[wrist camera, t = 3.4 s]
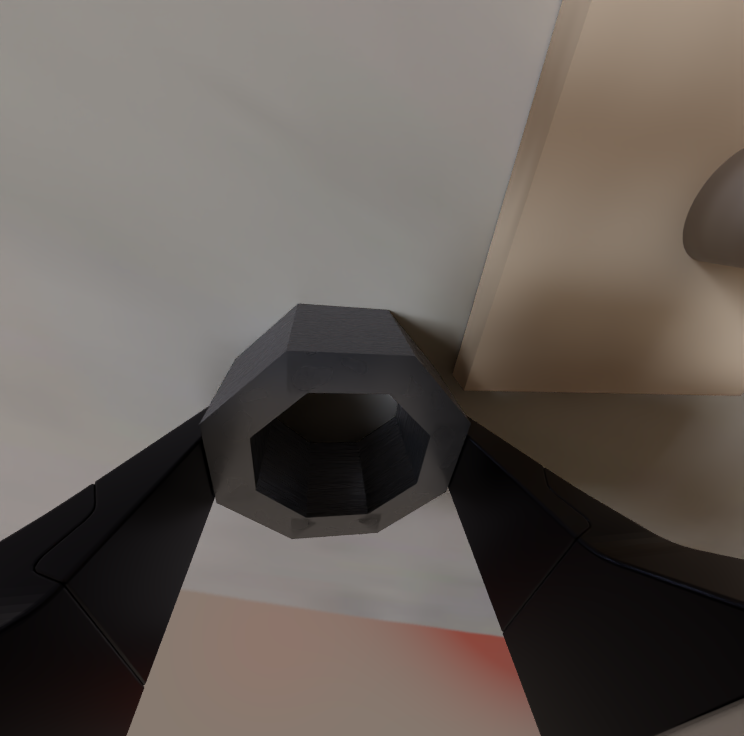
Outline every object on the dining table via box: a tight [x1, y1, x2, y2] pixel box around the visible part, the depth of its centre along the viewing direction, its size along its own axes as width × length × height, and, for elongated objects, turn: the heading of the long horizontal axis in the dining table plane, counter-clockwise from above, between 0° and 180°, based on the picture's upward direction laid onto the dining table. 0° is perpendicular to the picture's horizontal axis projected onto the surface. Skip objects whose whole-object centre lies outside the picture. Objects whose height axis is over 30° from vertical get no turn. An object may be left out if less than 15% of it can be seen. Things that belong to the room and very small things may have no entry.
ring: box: [199, 304, 471, 539], centre depth 9 cm, size 6×6×3 cm
